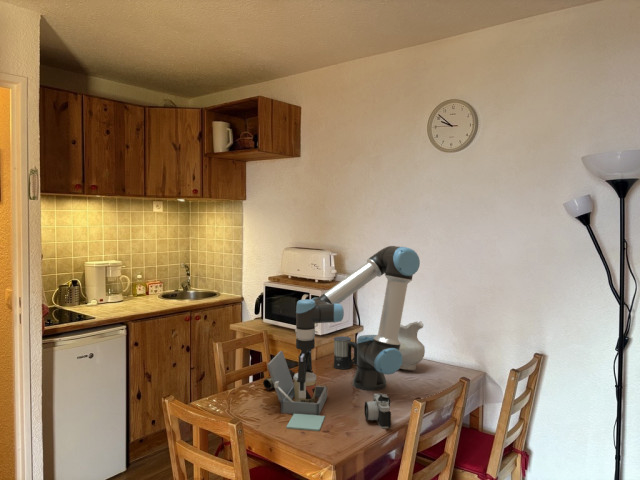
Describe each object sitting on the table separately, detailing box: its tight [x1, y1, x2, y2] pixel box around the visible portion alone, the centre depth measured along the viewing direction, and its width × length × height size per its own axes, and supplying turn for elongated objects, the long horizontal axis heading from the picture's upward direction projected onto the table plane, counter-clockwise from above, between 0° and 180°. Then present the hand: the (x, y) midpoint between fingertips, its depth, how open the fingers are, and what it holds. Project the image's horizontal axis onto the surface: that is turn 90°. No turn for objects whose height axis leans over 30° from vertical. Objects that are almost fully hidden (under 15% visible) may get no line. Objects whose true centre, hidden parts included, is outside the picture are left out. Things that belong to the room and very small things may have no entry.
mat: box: [286, 414, 326, 432], centre depth 174 cm, size 12×12×1 cm
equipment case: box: [266, 350, 328, 416], centre depth 192 cm, size 21×20×19 cm
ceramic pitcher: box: [398, 321, 426, 371], centre depth 242 cm, size 22×20×25 cm
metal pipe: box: [262, 369, 296, 390], centre depth 215 cm, size 18×7×6 cm, turn 143°
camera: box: [363, 392, 392, 429], centre depth 177 cm, size 16×9×10 cm, turn 5°
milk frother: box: [333, 335, 357, 370], centre depth 246 cm, size 14×16×15 cm
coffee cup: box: [293, 372, 318, 403], centre depth 191 cm, size 9×9×12 cm
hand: (304, 393), depth 191 cm, fingers closed on coffee cup, 9 cm apart
